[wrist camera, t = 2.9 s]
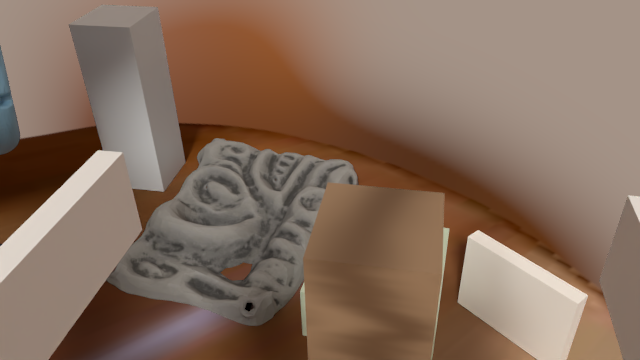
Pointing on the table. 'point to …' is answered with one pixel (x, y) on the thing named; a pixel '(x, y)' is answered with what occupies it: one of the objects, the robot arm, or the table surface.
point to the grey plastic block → (131, 90)
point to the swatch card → (519, 298)
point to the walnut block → (373, 273)
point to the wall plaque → (232, 232)
